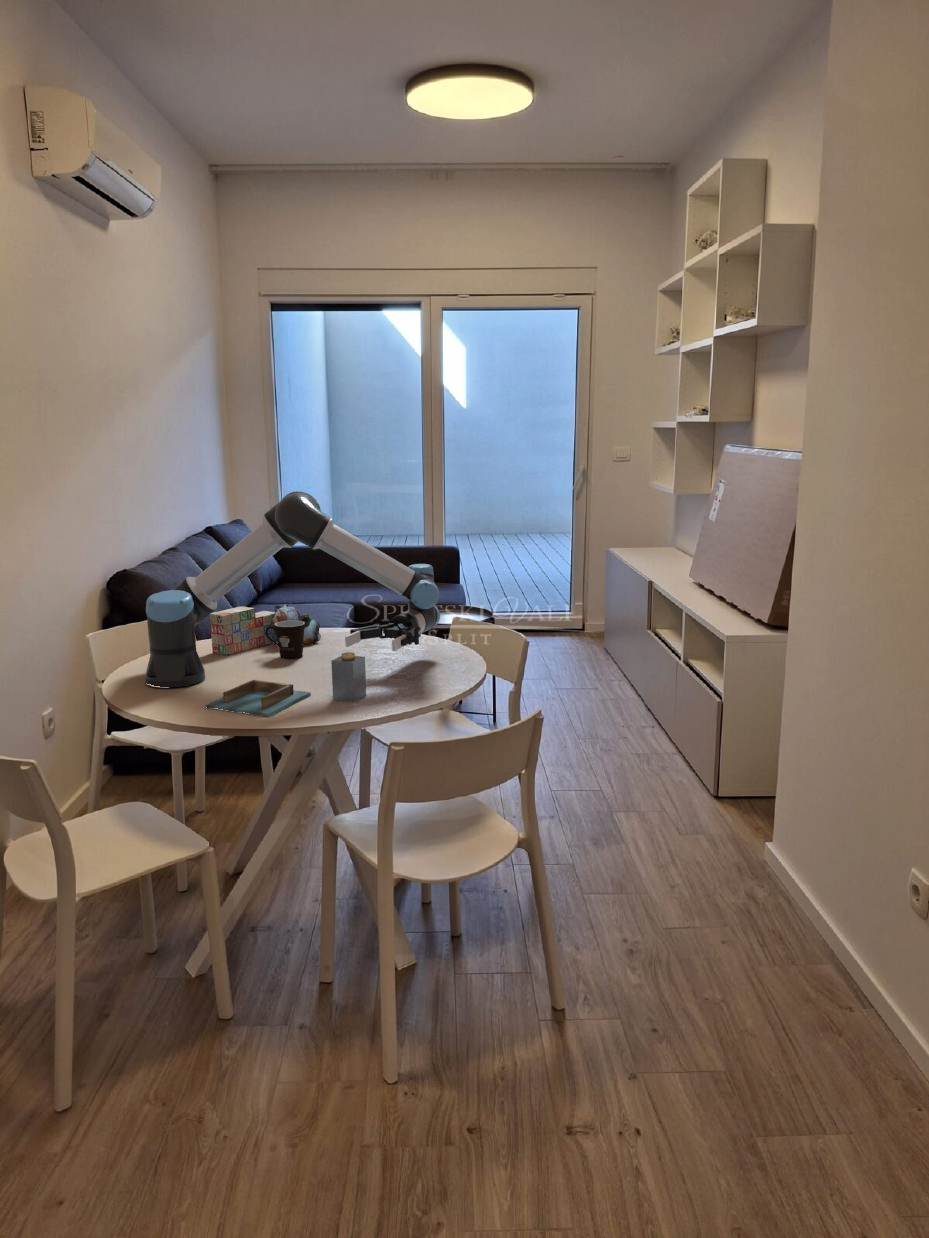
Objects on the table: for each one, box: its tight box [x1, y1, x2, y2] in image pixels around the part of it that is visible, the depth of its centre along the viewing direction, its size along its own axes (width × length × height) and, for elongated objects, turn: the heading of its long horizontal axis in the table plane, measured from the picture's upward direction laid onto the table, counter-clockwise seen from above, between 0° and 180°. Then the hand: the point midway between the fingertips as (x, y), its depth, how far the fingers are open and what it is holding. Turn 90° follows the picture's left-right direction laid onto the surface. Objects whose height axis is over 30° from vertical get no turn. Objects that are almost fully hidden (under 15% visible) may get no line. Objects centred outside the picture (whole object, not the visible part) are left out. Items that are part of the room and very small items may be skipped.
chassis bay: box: [205, 679, 312, 718], centre depth 214 cm, size 18×18×3 cm
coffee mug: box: [266, 620, 305, 661], centre depth 256 cm, size 12×9×10 cm
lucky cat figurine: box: [273, 603, 322, 646], centre depth 273 cm, size 15×12×14 cm
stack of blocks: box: [209, 606, 278, 656], centre depth 267 cm, size 21×6×12 cm, turn 144°
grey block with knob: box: [330, 651, 367, 703], centre depth 216 cm, size 6×6×11 cm
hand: (369, 643), depth 223 cm, fingers open, 13 cm apart
